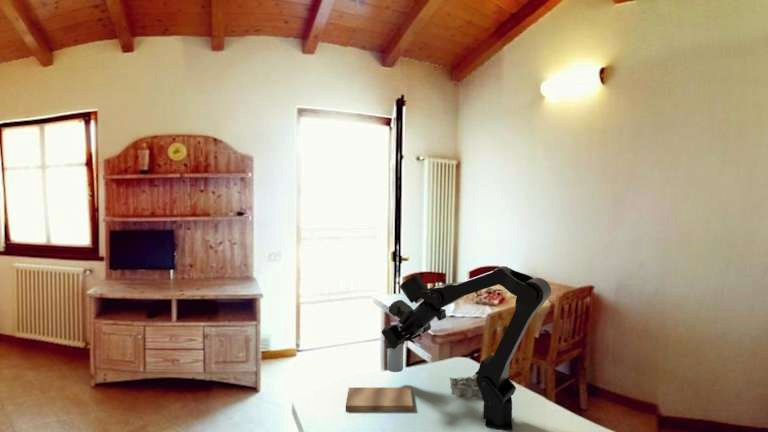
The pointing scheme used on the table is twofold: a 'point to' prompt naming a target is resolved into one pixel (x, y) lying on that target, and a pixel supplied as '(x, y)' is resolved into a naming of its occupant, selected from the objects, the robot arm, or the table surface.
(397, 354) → the slate-blue bottle
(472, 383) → the egg carton
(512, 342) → the robot arm
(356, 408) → the walnut board
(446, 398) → the table surface
